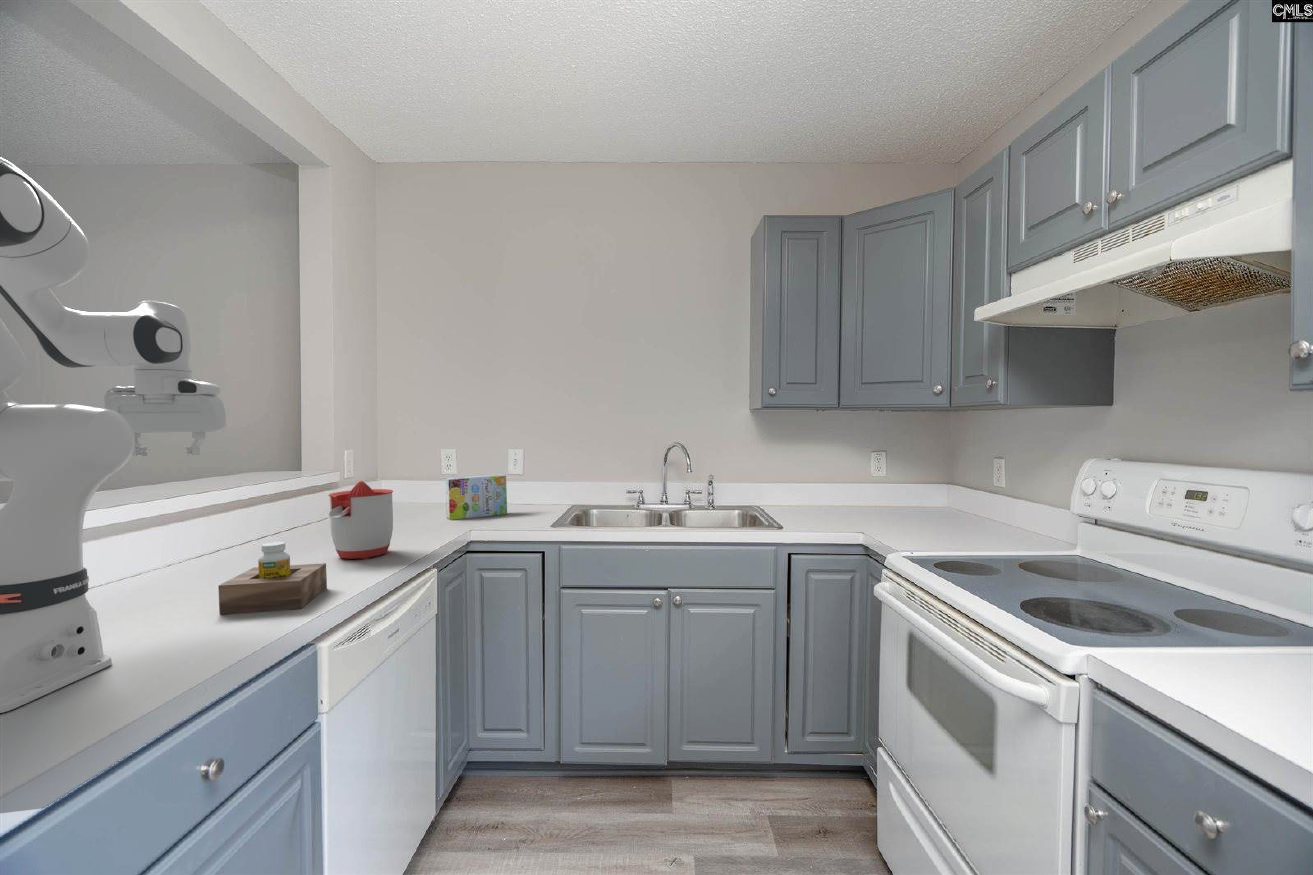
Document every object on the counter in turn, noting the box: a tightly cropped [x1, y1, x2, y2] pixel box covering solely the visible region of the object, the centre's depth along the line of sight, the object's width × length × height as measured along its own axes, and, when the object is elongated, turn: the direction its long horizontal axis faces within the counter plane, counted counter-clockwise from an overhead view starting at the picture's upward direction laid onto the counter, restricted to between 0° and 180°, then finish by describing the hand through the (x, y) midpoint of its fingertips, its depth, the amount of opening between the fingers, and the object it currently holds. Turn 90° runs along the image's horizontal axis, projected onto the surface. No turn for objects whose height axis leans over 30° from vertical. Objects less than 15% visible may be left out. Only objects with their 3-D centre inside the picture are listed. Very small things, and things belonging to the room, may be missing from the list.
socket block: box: [218, 562, 328, 615], centre depth 119 cm, size 14×14×6 cm
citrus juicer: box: [328, 480, 394, 560], centre depth 158 cm, size 16×17×20 cm
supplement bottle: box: [257, 541, 291, 579], centre depth 119 cm, size 5×5×10 cm
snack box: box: [445, 474, 508, 521], centre depth 221 cm, size 21×6×15 cm, turn 121°
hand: (167, 455), depth 118 cm, fingers open, 8 cm apart
